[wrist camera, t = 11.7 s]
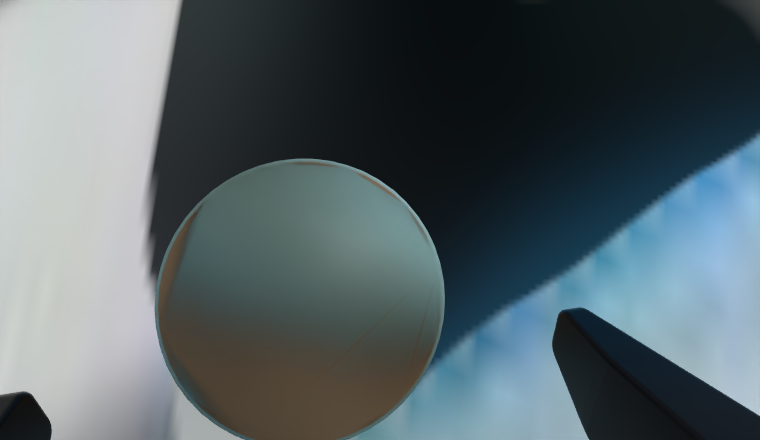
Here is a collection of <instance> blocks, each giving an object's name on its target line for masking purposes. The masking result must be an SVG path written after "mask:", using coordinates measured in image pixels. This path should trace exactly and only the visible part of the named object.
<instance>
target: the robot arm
mask: <svg viewBox="0 0 760 440" xmlns="http://www.w3.org/2000/svg"><path fill="white" fill-rule="evenodd" d="M552 347H553V352H554V355H555V358H556V360H557V363H558V365H559V368H560V370H561V373H562V375H563V378H564V381H565V383H566V386H567V388H568V391H569V393H570V396H571V398H572V401H573V403H574V406H575V408H576V411H577V413H578V416H579V418H580V421H581V423H582V425H583V428H584V430H585V432H586V434H587V436H588V438H589V440H760V416H759V415H757V414H756V413H754V412H752V411H751V410H749V409H748V408H746V407H744V406H743V405H741V404H739V403H738V402H736V401H735V400H733V399H731V398H730V397H728V396H727V395H725V394H723V393H722V392H720V391H718V390H717V389H715V388H714V387H712V386H710V385H709V384H707V383H705V382H704V381H702V380H701V379H699V378H697V377H696V376H694V375H692V374H691V373H689V372H688V371H686V370H684V369H683V368H681V367H679V366H678V365H676V364H675V363H673V362H671V361H670V360H668V359H666V358H665V357H663V356H662V355H660V354H658V353H657V352H655V351H653V350H652V349H650V348H649V347H647V346H645V345H644V344H642V343H641V342H639V341H637V340H636V339H634V338H632V337H631V336H629V335H628V334H626V333H624V332H623V331H621V330H619V329H618V328H616V327H615V326H613V325H611V324H610V323H608V322H606V321H605V320H603V319H602V318H600V317H598V316H597V315H595V314H593V313H592V312H590V311H589V310H587V309H585V308H572V309H566V310H562V311H561V312H560V313H559V315H558V318H557V322H556V327H555V331H554V336H553V340H552ZM51 431H52V429H51V424H50V421H49V419H48V417H47V416H46V414H45V413H44V411H43V410H42V409H41V407H40V406H39V404H38V403H37V401H36V400H35V398H34V397H33V396H32V394H30V393H28V392H16V393H10V394H3V395H0V440H50V439H51Z"/></svg>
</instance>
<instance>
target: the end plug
mask: <svg viewBox="0 0 760 440" xmlns="http://www.w3.org/2000/svg"><path fill="white" fill-rule="evenodd" d="M444 303H445V296H444V281H443V276H442V271H441V266H440V262H439V258H438V255H437V252H436V249H435V246H434V244H433V242H432V240H431V238H430V236H429V234H428V232H427V230H426V229H425V227H424V225H423V223H422V222H421V221H420V219H419V217H418V216H417V214H416V213H415V212H414V211H413V210H412V209H411V207H410V206H409V205H408V204H407V202H405V201H404V200H403V199H402V198H401V197H400V196H399V195H398V194H397V193H396V192H395V191H394V190H392V189H391V188H389V187H388V186H387V185H385V184H384V183H383V182H381V181H380V180H378V179H376V178H374V177H372V176H371V175H369V174H367V173H365V172H363V171H360V170H358V169H355V168H353V167H350V166H348V165H344V164H340V163H336V162H332V161H325V160H317V159H291V160H282V161H276V162H272V163H268V164H264V165H260V166H257V167H255V168H252V169H250V170H247V171H244V172H242V173H240V174H238V175H237V176H235V177H233V178H231V179H229V180H227V181H225V182H224V183H223V184H221V185H220V186H218V187H217V188H216V189H214V190H213V191H211V193H209V194H208V195H207V196H206V197H205V198H204V199H202V200H201V201H200V202H199V203H198V204H197V205H196V206H195V208H194V209H193V210H192V211H191V212H190V213H189V214H188V216H187V217H186V218H185V219H184V221H183V222H182V224H181V225H180V227H179V228H178V230H177V231H176V233H175V234H174V237H173V239H172V241H171V243H170V245H169V247H168V249H167V251H166V253H165V256H164V259H163V262H162V265H161V268H160V272H159V277H158V281H157V286H156V297H155V319H156V330H157V335H158V339H159V344H160V348H161V351H162V354H163V357H164V359H165V362H166V365H167V367H168V369H169V371H170V373H171V375H172V377H173V378H174V380H175V382H176V384H177V385H178V387H179V388H180V389H181V391H182V392H183V394H184V395H185V396H186V398H187V399H188V400H189V401H190V402H191V403H192V404H193V405H194V406H195V407H196V408H197V409H198V410H199V411H200V413H201V414H203V415H204V416H205V417H207V418H208V419H209V420H211V421H212V422H213V423H214V424H216V425H217V426H219V427H221V428H222V429H224V430H226V431H228V432H229V433H231V434H233V435H235V436H238V437H240V438H242V439H245V440H347V439H350V438H352V437H354V436H356V435H358V434H360V433H362V432H364V431H366V430H368V429H370V428H372V427H373V426H375V425H376V424H378V423H379V422H381V421H382V420H384V419H385V418H387V417H388V416H389V415H390V414H391V413H392V412H393V411H394V410H396V409H397V408H398V407H399V406H400V405H401V404H402V403H403V402H404V401H405V400H406V398H407V397H408V396H409V395H410V394H411V393H412V391H413V390H414V389H415V388H416V386H417V385H418V383H419V382H420V380H421V379H422V377H423V375H424V374H425V372H426V370H427V368H428V366H429V364H430V362H431V360H432V358H433V356H434V353H435V350H436V347H437V344H438V341H439V338H440V334H441V329H442V324H443V318H444Z"/></svg>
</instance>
